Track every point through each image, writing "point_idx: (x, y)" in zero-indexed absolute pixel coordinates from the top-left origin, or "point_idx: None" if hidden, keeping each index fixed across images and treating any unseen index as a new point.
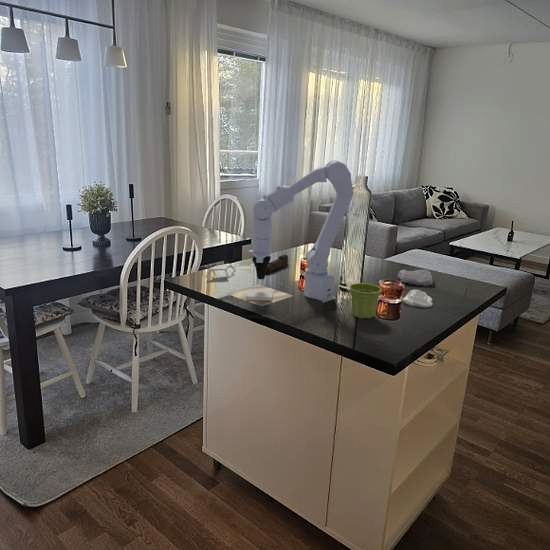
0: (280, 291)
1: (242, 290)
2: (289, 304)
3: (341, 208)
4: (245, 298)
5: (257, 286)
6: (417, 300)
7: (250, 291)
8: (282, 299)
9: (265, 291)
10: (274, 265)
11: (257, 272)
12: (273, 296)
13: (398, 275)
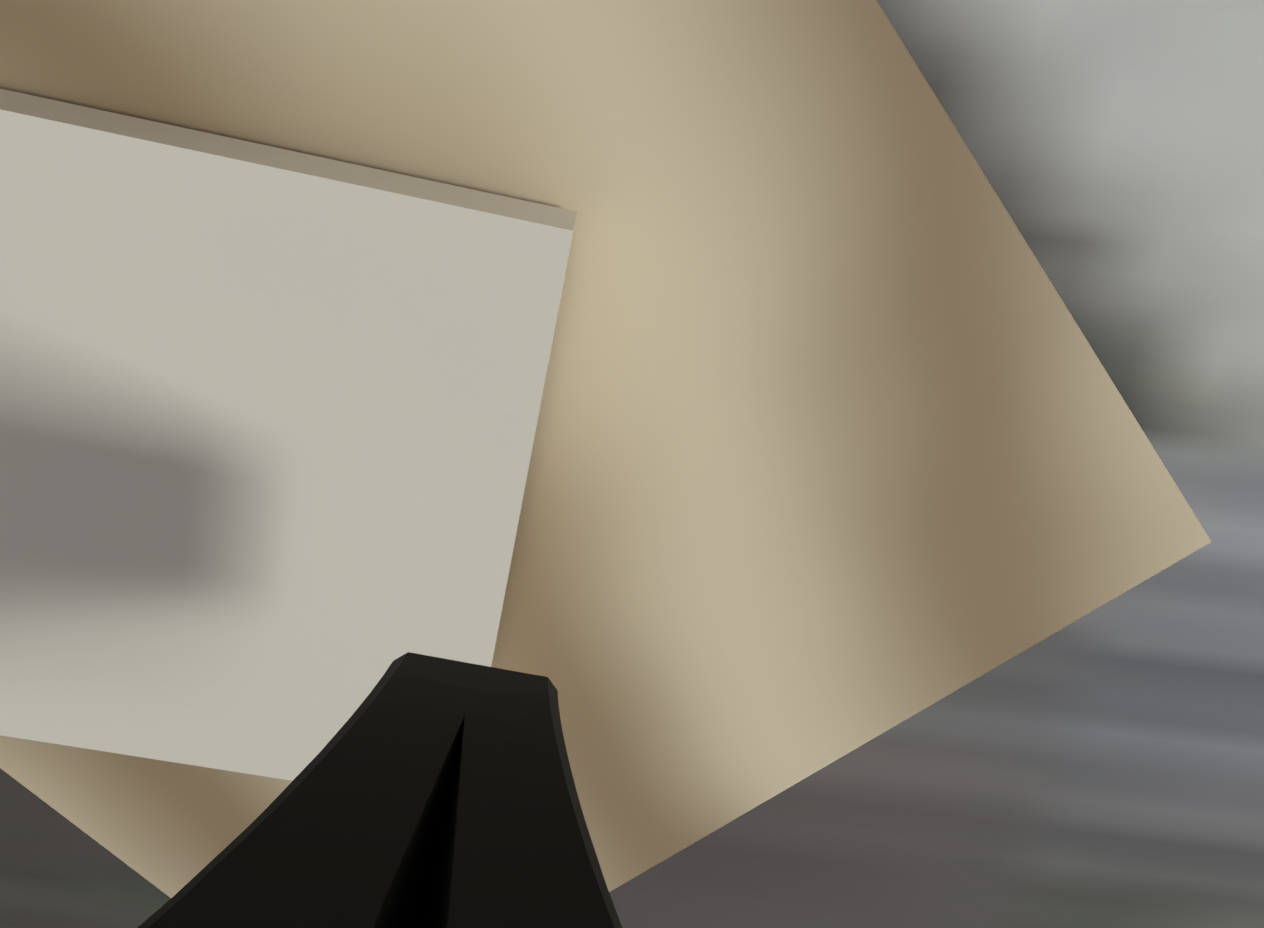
0: (618, 885)
1: (780, 37)
2: (49, 891)
3: None
4: (39, 58)
5: (1057, 490)
6: None
7: (291, 254)
8: (115, 851)
9: (323, 638)
10: None
11: (268, 841)
12: None
13: None
